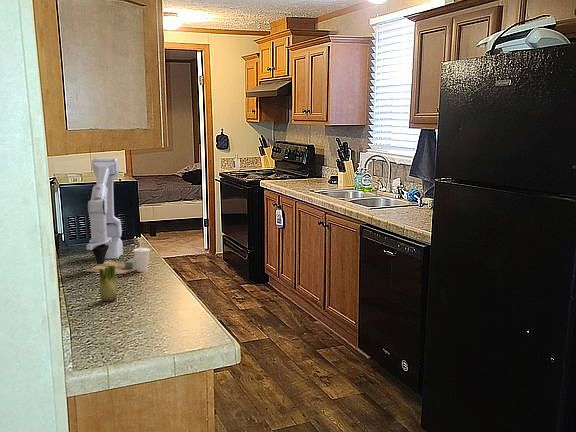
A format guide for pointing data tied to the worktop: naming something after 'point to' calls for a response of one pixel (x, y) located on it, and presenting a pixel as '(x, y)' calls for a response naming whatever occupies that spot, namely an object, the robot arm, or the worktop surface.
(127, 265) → the block
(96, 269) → the board
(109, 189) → the robot arm
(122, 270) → the laid strip
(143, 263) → the smoothie
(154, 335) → the worktop surface
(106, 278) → the fennel bulb
